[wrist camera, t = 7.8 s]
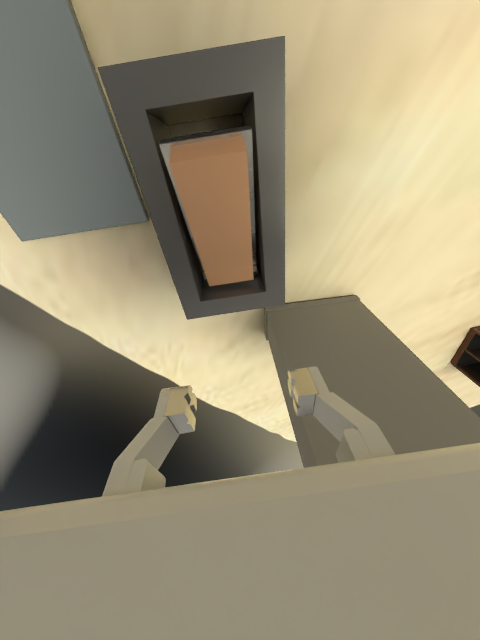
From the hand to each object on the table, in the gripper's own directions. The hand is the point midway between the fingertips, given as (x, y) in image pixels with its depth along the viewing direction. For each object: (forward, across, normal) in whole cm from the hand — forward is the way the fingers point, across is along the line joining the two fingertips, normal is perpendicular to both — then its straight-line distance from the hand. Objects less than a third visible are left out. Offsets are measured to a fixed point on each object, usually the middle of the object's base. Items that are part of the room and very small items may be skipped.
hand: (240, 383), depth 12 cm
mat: (+19, +15, -14) cm, 28 cm away
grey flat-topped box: (+19, -11, +11) cm, 25 cm away
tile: (+14, 0, -6) cm, 15 cm away
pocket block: (+19, 0, -6) cm, 20 cm away
